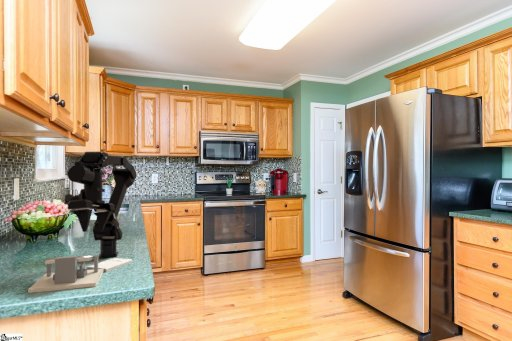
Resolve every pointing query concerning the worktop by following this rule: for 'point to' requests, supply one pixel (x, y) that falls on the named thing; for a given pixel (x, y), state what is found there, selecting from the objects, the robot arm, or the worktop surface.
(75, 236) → the worktop surface
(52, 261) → the brushed grey panel
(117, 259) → the external hard drive
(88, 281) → the board
